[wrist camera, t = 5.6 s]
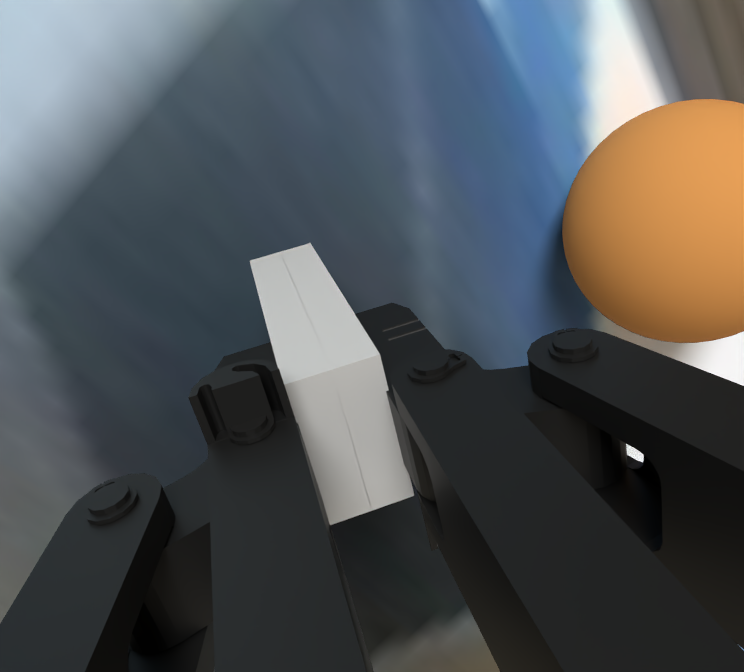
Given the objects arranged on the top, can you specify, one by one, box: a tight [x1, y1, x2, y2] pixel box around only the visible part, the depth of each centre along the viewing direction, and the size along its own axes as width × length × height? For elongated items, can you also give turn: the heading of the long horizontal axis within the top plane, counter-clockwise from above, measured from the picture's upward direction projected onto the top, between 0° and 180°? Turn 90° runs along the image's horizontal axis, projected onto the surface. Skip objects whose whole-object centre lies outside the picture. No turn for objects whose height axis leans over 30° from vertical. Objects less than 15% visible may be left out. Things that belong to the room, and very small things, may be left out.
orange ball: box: [562, 99, 744, 343], centre depth 16 cm, size 6×6×6 cm
